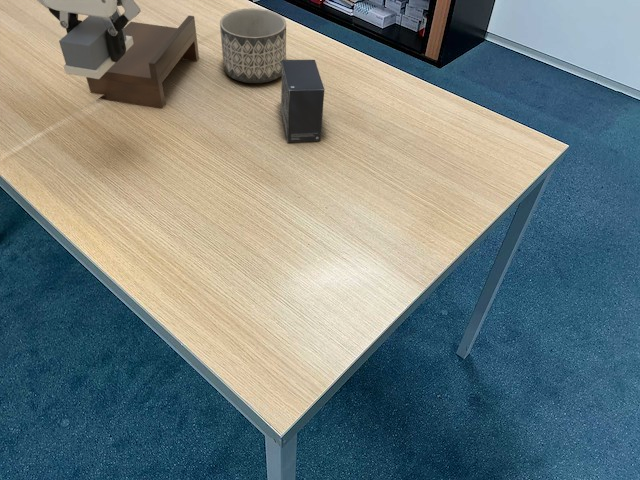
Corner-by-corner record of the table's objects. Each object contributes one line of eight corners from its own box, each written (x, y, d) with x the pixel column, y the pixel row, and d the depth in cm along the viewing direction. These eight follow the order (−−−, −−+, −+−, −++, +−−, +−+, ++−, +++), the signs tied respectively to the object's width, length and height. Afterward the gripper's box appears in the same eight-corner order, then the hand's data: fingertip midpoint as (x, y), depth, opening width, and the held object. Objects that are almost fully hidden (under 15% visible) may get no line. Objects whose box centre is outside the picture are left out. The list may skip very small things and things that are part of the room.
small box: (323, 142, 96) (326, 89, 89) (286, 144, 95) (287, 90, 88) (313, 109, 104) (316, 57, 96) (279, 110, 103) (279, 58, 95)
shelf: (91, 97, 102) (79, 52, 96) (136, 49, 116) (127, 6, 110) (162, 108, 101) (154, 63, 95) (199, 58, 115) (194, 15, 108)
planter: (211, 74, 110) (206, 24, 103) (250, 51, 118) (248, 2, 111) (260, 95, 106) (258, 44, 99) (297, 69, 114) (299, 20, 106)
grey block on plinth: (99, 79, 76) (90, 46, 72) (65, 73, 76) (55, 41, 73) (133, 43, 83) (127, 12, 80) (103, 38, 84) (95, 7, 80)
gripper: (-18, -86, 64) (31, 57, 78) (117, -67, 63) (144, 76, 76) (19, -103, 70) (59, 34, 83) (145, -85, 68) (166, 51, 81)
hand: (100, 53), depth 79 cm, fingers closed on grey block on plinth, 5 cm apart
